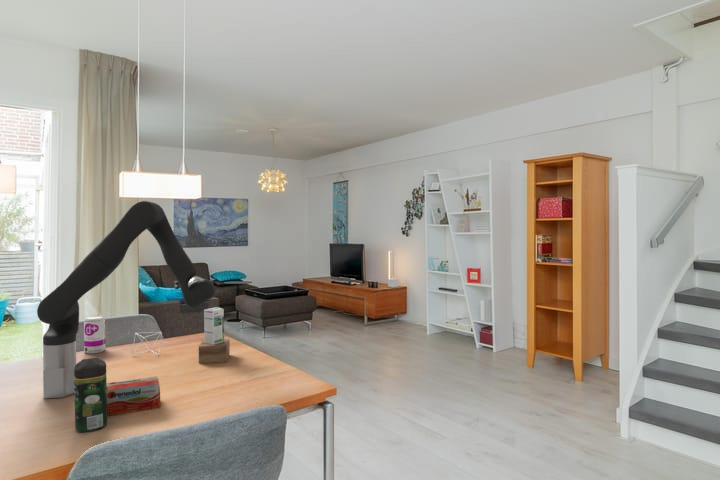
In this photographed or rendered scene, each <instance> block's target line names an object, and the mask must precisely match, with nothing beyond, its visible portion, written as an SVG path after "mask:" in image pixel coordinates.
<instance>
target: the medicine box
mask: <svg viewBox="0 0 720 480" xmlns="http://www.w3.org/2000/svg"><path fill="white" fill-rule="evenodd" d="M160 387H161V386H160V379H159V377H158V375H157V376H149V377H144V378H142V377H140V378H134V379H127V380H125V379H124V380H118V381H111V382H110V381H109V382H107V417H110V416H117V415H125V414H131V413H132V414H133V413H137V412H143V411H150V410H155V409H156V410H157V409H160V408H161V388H160Z"/></svg>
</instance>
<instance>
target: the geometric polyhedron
mask: <svg viewBox="0 0 720 480" xmlns="http://www.w3.org/2000/svg"><path fill="white" fill-rule="evenodd" d="M149 333H153V334H150V335H145V336H142V335H141V334H140V333H138V332H135V333H134V336H137V337H138V338H139V339H140V342H139V344H138V346H137V347H136V349H135V348H134V347H135V344H133V347H132V350H134V349H135V350H134V351H132V353H131V357H132V358H137V357H141V355H142V354H145V353H147V352H149V351H150V352H152V353H154V354H155V355H154V354H152V355H149V357H150V356H151V357H157V356H160V349H161V347H159V350H158V352H157V351H156V350H155V349H154V346H155V344H156V342H157V341H158V339H159V337H161V336H162V334H163V332H162V331H158V332H157V331H149V332H147V331H146V332H142V334H149ZM157 334H158V337H157V338H156V340H155V341H154V343H153V345H151V343H149V341H148V340H147V339H146V338H148V337H151V336H154V335H157ZM141 338H142V339H141ZM133 339H134V340H133V343H135V340H136V337H134V338H133ZM143 340H145V341H146V342H147V343H148V344H149V346H150V347H151V348H149V347H148V346H147V344H146V343H145V342H144V341H143ZM141 343H143V344H144V345H145V346H146V348H147V349H148V350H146V351H143V352H140V353H139V354H136V352H137V350H138V349H139V347H140V345H141ZM161 343H162V338H160V341H159V345H161ZM152 349H153V350H154V351H155V352H154V351H153V350H152Z"/></svg>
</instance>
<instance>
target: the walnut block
mask: <svg viewBox="0 0 720 480" xmlns="http://www.w3.org/2000/svg"><path fill="white" fill-rule="evenodd" d="M230 344H231V343H230V338H224V342H222V343H218V344H215V345H211V344H207V343H205V339H203V340H202V341H201V342H200V344H199V346H198V364H199V363H200V364H213V363H212V362H224V363H228V360H229V358H230V355H229V354H231V353H230V350H231V349H230V347H231V345H230ZM228 357H229V358H228ZM227 359H228V360H227Z"/></svg>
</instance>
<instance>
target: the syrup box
mask: <svg viewBox="0 0 720 480" xmlns="http://www.w3.org/2000/svg"><path fill="white" fill-rule="evenodd" d="M224 313H225V311H224V308H222V307H218V306H217V307H216V306H215V307H211V308H204V309H203V316H204V318H203V320H204V321H203V323H204V324H203V325H204V328H203V329H204V340H205V343H207V344H211V345H215V344H218V343H222V342H224V339H225V318H224V317H225V316H224V315H225V314H224Z"/></svg>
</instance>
